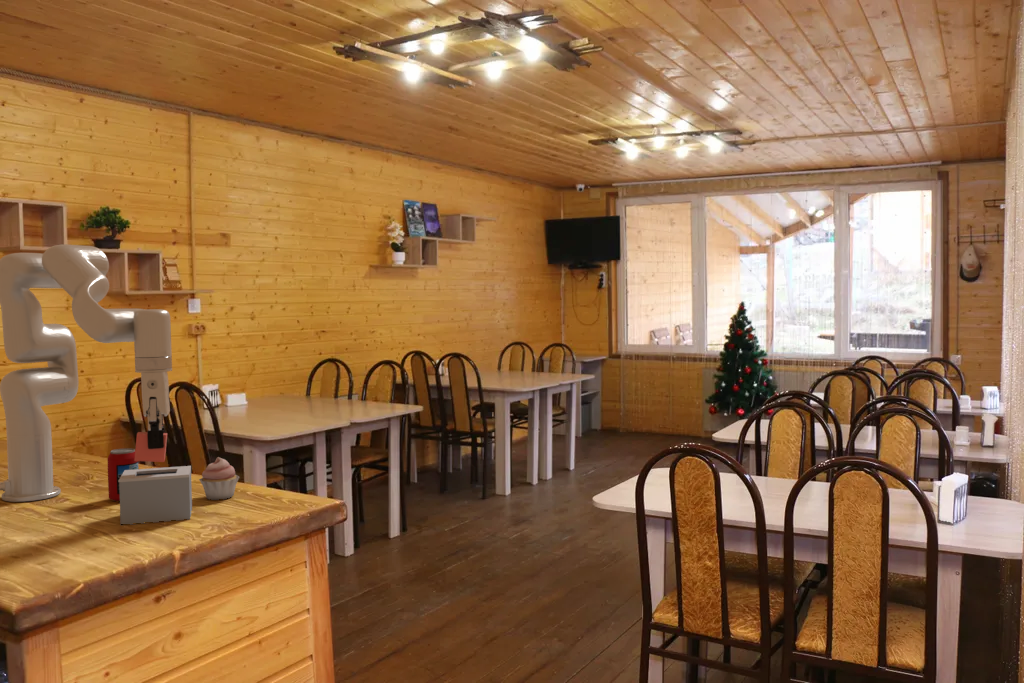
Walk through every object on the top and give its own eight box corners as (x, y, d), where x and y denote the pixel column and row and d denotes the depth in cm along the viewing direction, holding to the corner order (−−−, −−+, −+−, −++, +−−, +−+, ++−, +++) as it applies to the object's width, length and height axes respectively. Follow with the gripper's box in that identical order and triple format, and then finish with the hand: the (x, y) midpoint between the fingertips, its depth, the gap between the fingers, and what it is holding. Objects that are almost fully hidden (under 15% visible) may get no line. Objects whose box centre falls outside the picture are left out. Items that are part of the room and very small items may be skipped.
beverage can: (127, 503, 195) (125, 453, 194) (102, 501, 196) (100, 452, 195) (145, 496, 201) (143, 448, 201) (121, 495, 203) (119, 447, 202)
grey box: (120, 525, 176) (119, 479, 175) (125, 513, 185) (124, 470, 185) (190, 519, 180) (189, 474, 180) (192, 508, 190) (190, 465, 189)
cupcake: (192, 497, 200) (191, 457, 200) (228, 490, 207) (227, 451, 206) (210, 504, 194) (209, 462, 193) (246, 497, 201) (246, 456, 200)
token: (134, 460, 179) (136, 433, 179) (135, 458, 182) (138, 431, 182) (163, 462, 181) (166, 435, 181) (164, 459, 184) (167, 433, 184)
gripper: (169, 366, 175) (172, 452, 175) (174, 361, 190) (176, 440, 191) (131, 368, 172) (134, 454, 173) (138, 363, 187) (141, 442, 188)
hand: (156, 446), depth 182 cm, fingers closed on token, 2 cm apart
